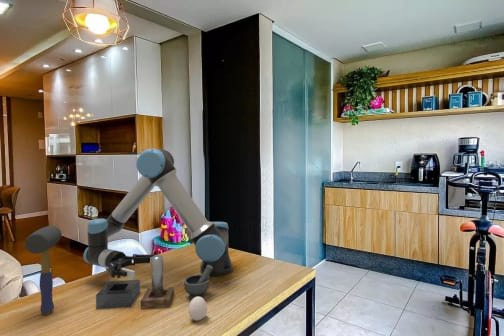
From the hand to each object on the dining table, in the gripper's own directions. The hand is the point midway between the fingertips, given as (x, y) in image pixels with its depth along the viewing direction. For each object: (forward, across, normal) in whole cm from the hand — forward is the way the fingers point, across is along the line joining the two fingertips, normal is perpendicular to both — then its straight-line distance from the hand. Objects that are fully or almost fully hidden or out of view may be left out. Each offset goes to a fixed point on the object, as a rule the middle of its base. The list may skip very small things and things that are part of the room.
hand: (149, 268), depth 113 cm
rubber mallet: (-24, +24, -12) cm, 36 cm away
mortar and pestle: (+16, -10, -12) cm, 22 cm away
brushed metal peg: (+4, 0, -11) cm, 11 cm away
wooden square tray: (+4, 0, -12) cm, 12 cm away
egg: (+25, +2, -12) cm, 28 cm away
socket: (-10, +6, -12) cm, 16 cm away
